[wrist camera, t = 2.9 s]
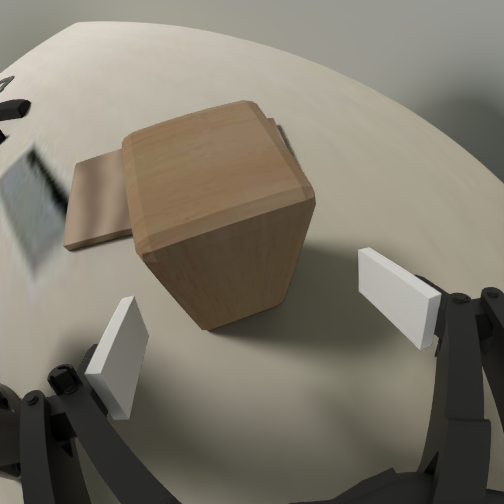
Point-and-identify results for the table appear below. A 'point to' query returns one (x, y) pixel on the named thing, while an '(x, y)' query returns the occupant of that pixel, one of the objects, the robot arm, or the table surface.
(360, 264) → the robot arm
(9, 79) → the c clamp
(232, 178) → the wooden block
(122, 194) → the floor board
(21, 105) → the black notched oval shell
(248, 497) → the table surface
